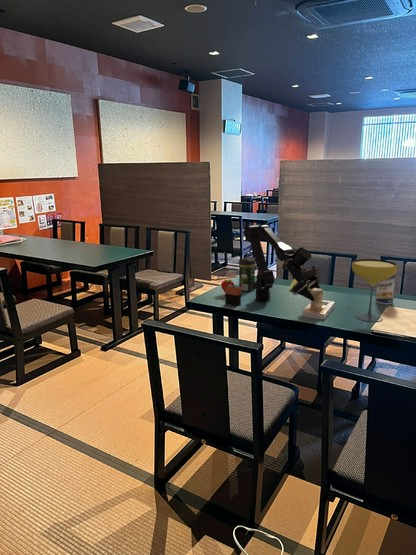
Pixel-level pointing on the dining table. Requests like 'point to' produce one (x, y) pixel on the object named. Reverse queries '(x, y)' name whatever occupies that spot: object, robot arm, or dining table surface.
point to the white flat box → (326, 309)
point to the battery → (233, 295)
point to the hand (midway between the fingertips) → (318, 298)
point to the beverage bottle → (385, 290)
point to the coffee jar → (247, 273)
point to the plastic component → (295, 284)
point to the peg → (317, 299)
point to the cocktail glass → (373, 278)
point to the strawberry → (226, 284)
